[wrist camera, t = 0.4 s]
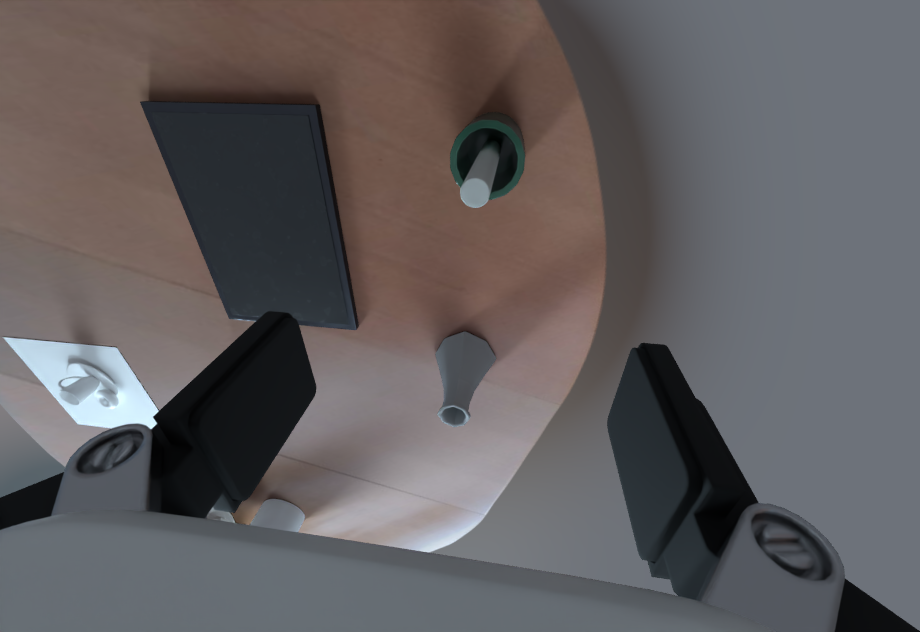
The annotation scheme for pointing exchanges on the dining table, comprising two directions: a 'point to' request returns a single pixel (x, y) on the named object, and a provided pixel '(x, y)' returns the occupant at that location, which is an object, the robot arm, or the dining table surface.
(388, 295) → the dining table surface
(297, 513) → the base with upright slab
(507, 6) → the dining table surface
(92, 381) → the teacup and saucer
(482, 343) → the flask
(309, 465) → the dining table surface
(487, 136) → the pen holder
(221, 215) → the tablet
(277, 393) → the robot arm
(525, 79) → the dining table surface
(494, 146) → the stylus
